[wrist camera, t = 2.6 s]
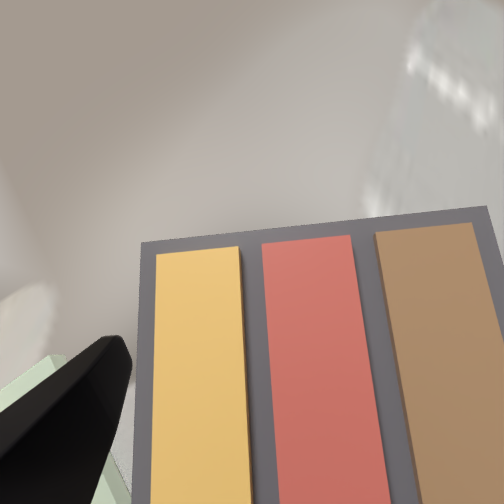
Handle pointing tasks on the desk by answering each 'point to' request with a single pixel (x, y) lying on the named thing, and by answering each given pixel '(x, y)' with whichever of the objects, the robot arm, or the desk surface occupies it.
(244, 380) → the plug block
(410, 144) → the desk surface
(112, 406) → the robot arm
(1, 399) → the board
